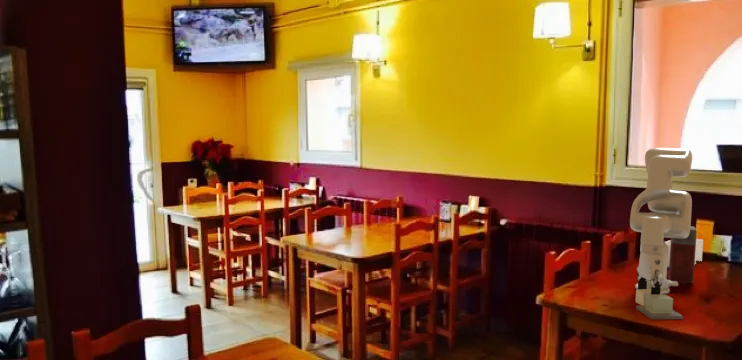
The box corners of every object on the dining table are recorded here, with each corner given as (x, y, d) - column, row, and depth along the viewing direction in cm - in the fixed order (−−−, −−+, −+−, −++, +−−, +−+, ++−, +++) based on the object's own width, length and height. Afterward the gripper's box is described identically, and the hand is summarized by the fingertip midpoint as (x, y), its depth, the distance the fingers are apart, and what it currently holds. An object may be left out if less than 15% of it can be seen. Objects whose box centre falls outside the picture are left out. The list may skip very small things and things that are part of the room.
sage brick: (664, 308, 209) (665, 294, 209) (672, 312, 205) (673, 298, 204) (645, 307, 209) (646, 294, 209) (652, 312, 204) (653, 298, 204)
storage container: (677, 257, 294) (679, 236, 293) (701, 261, 287) (703, 239, 285) (660, 266, 277) (661, 243, 275) (685, 270, 269) (687, 247, 268)
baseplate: (665, 308, 213) (665, 305, 213) (682, 319, 202) (682, 315, 202) (636, 308, 212) (636, 305, 212) (651, 319, 201) (651, 315, 201)
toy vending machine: (691, 277, 255) (695, 215, 253) (693, 284, 245) (697, 218, 242) (668, 275, 259) (672, 213, 256) (669, 281, 249) (673, 217, 246)
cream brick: (652, 301, 221) (653, 288, 221) (660, 305, 216) (661, 292, 216) (635, 302, 221) (636, 289, 220) (643, 306, 216) (643, 293, 215)
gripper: (674, 253, 208) (670, 301, 209) (649, 245, 225) (646, 288, 226) (653, 253, 207) (650, 300, 208) (630, 244, 225) (627, 288, 226)
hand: (648, 294), depth 217 cm, fingers open, 9 cm apart
